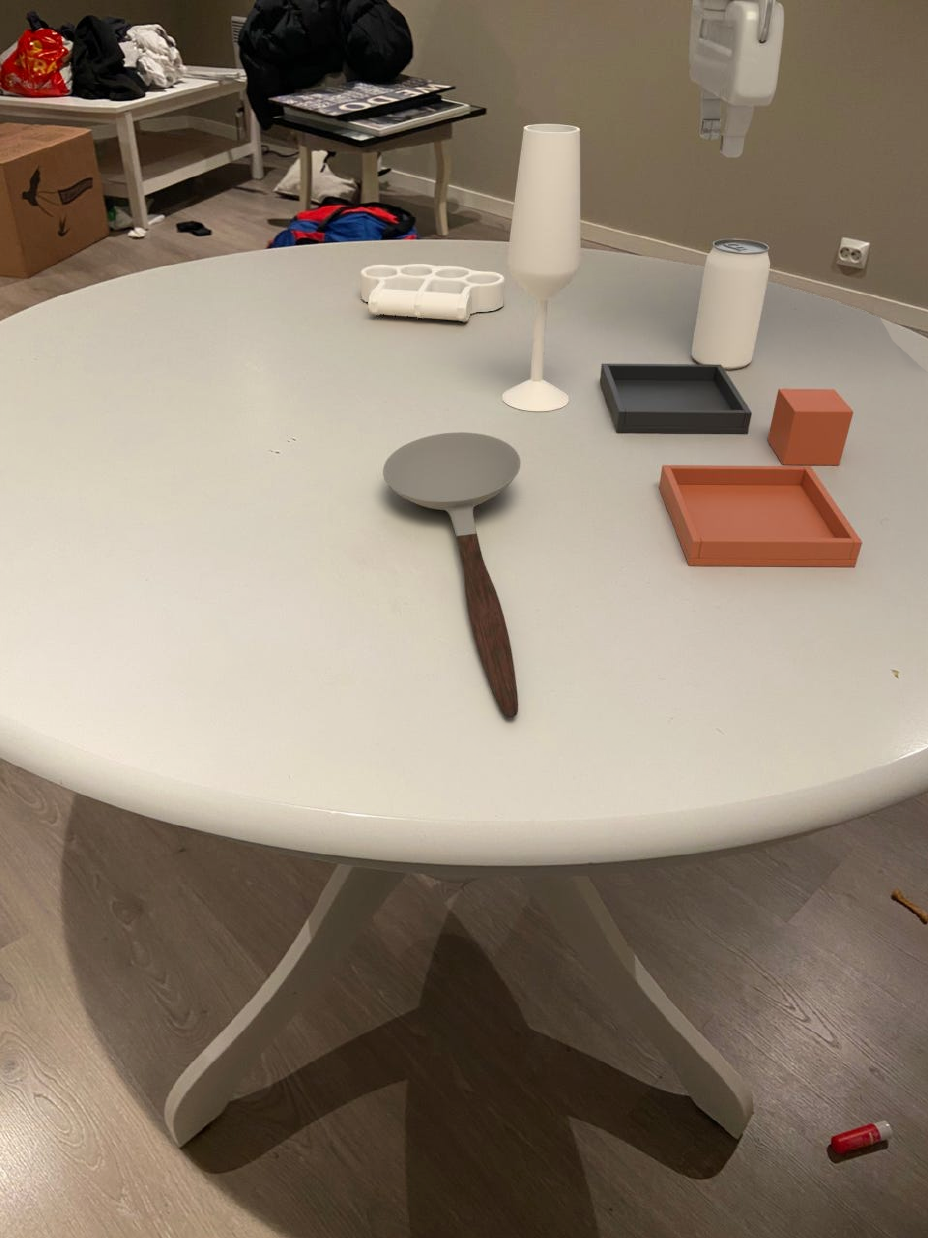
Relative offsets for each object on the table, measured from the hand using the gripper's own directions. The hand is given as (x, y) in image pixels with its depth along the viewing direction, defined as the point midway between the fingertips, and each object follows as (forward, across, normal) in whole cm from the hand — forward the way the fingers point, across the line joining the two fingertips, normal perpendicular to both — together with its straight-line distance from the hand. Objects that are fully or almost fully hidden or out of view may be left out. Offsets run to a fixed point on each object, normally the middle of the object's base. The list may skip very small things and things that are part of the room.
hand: (719, 147), depth 92 cm
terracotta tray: (+21, -36, +2) cm, 42 cm away
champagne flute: (+21, -11, +18) cm, 30 cm away
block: (+21, -23, -6) cm, 32 cm away
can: (+21, 0, -3) cm, 21 cm away
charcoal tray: (+21, -13, +4) cm, 25 cm away
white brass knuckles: (+21, +17, +29) cm, 40 cm away
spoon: (+21, -44, +24) cm, 54 cm away
